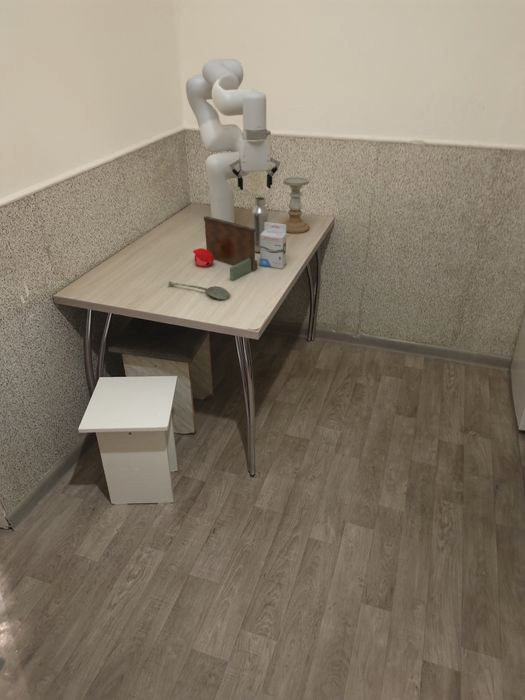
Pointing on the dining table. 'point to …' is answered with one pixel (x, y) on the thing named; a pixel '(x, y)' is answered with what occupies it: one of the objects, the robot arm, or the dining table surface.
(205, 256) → the red rounded piece
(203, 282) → the dining table surface
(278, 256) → the ink box
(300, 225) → the candle holder
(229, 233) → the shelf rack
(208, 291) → the soupspoon
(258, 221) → the silver metal bottle
